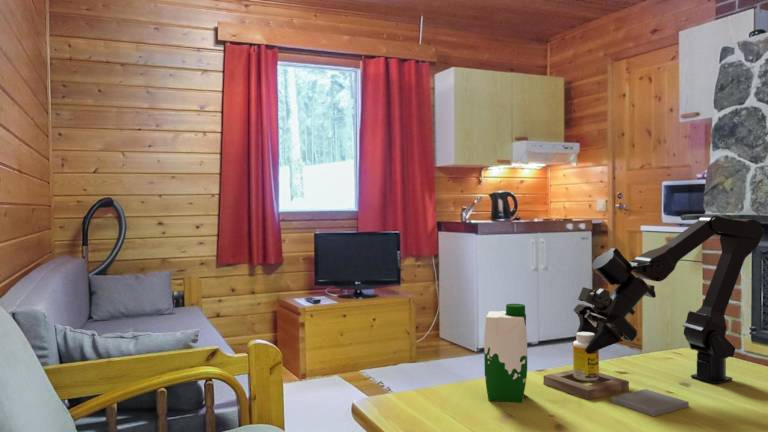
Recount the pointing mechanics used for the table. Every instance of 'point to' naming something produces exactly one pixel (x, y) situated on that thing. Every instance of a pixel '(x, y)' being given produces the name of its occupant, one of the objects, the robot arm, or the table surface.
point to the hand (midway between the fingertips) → (579, 349)
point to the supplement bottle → (585, 358)
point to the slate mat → (650, 402)
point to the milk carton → (506, 354)
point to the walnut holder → (599, 389)
